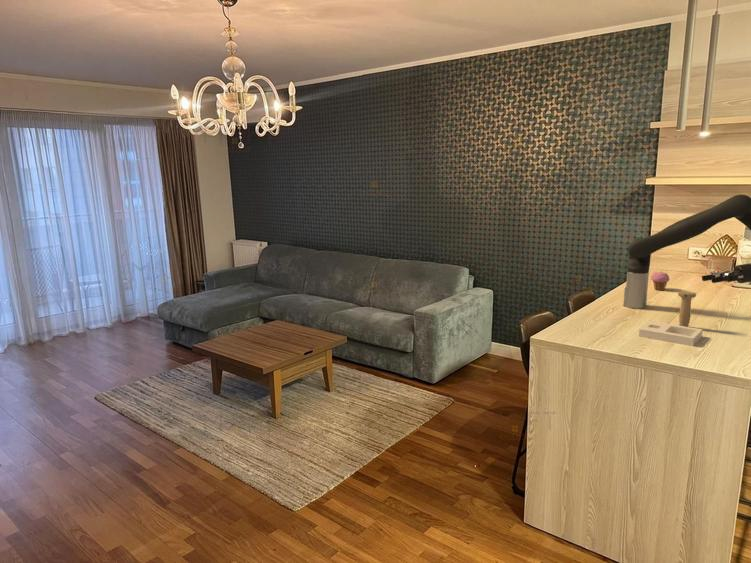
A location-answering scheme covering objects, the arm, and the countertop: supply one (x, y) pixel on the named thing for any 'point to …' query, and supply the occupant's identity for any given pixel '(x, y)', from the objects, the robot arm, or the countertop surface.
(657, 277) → the cupcake
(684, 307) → the handle
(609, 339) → the countertop surface
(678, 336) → the plate
